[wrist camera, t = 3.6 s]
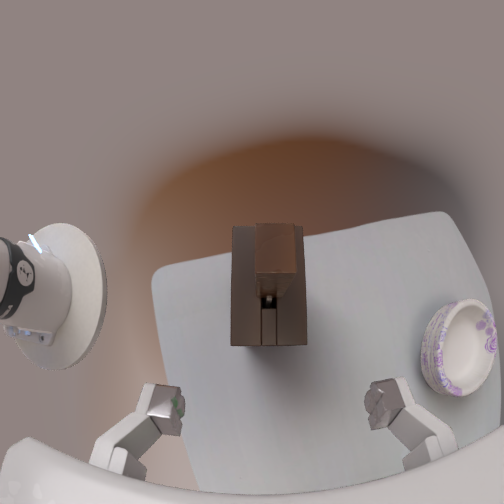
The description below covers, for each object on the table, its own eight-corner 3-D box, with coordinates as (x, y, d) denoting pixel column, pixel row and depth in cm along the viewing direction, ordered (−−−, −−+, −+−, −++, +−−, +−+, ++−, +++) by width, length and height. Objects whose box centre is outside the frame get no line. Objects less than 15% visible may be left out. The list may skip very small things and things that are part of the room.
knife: (274, 284, 30) (294, 219, 14) (275, 311, 29) (297, 277, 13) (256, 284, 30) (254, 219, 14) (256, 311, 29) (254, 277, 13)
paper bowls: (480, 345, 35) (508, 343, 27) (435, 408, 32) (462, 416, 25) (445, 288, 39) (472, 277, 31) (393, 350, 36) (420, 351, 29)
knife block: (284, 273, 40) (302, 225, 23) (285, 341, 37) (307, 344, 20) (243, 273, 41) (232, 225, 23) (242, 341, 38) (230, 345, 20)
